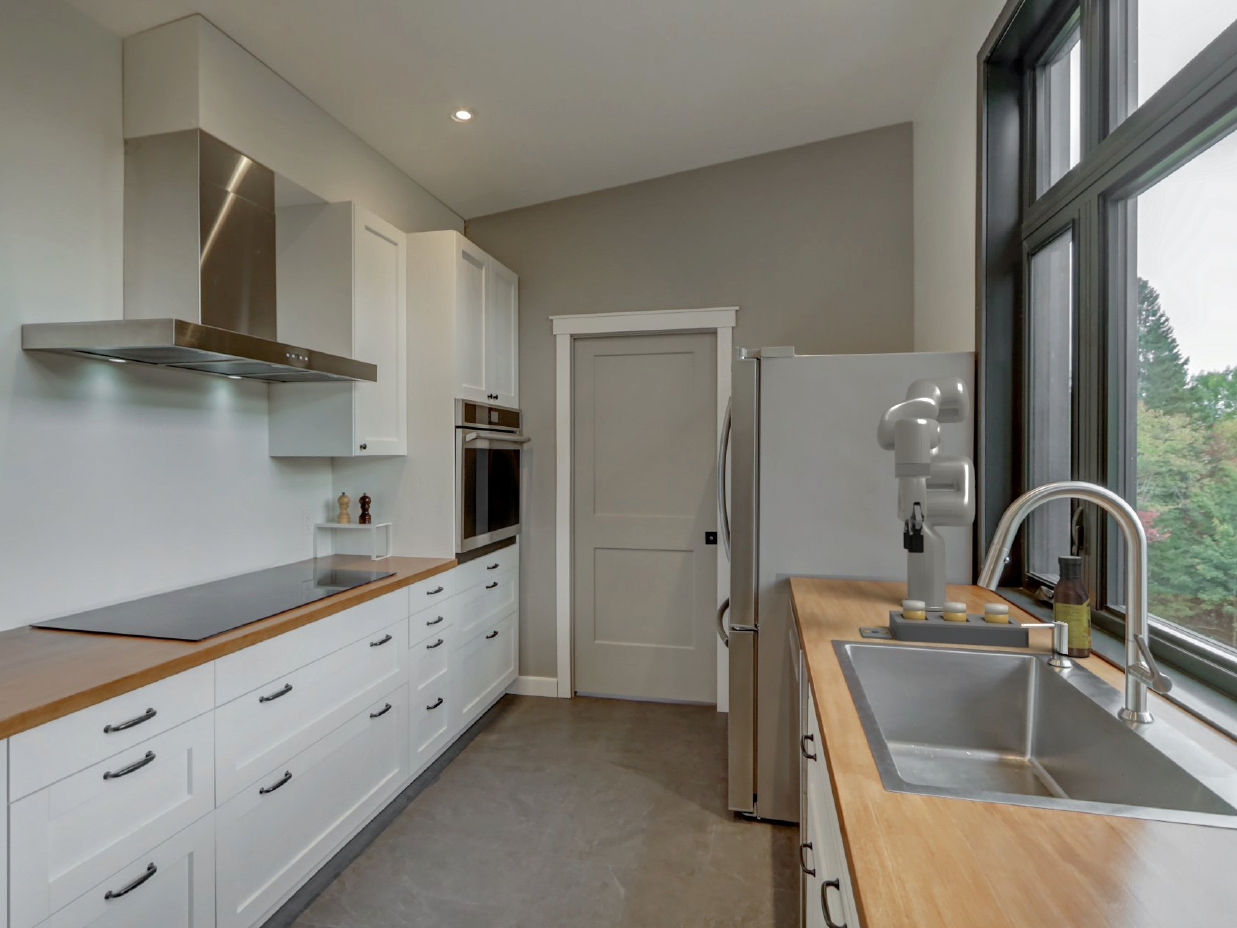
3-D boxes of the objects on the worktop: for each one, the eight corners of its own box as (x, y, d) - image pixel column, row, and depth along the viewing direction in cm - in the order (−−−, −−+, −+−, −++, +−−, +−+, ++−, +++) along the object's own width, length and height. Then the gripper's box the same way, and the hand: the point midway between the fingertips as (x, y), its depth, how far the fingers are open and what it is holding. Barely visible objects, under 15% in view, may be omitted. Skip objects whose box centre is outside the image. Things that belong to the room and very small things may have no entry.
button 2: (982, 626, 150) (982, 602, 150) (1004, 627, 148) (1004, 603, 148) (988, 631, 145) (987, 607, 145) (1011, 633, 144) (1011, 607, 144)
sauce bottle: (1097, 658, 131) (1096, 559, 131) (1062, 657, 133) (1061, 558, 133) (1081, 649, 138) (1080, 554, 138) (1048, 648, 139) (1047, 554, 139)
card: (859, 628, 157) (859, 626, 157) (886, 630, 155) (886, 627, 155) (863, 637, 149) (863, 635, 149) (891, 639, 148) (891, 636, 148)
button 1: (901, 623, 154) (901, 599, 154) (923, 624, 153) (922, 600, 153) (905, 627, 149) (904, 603, 149) (927, 628, 148) (926, 604, 148)
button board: (889, 627, 158) (889, 610, 158) (1010, 633, 151) (1010, 615, 151) (897, 640, 146) (897, 622, 146) (1028, 647, 140) (1028, 628, 140)
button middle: (941, 624, 152) (941, 601, 152) (963, 625, 151) (963, 601, 151) (946, 629, 147) (945, 605, 147) (968, 631, 146) (968, 606, 146)
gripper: (889, 471, 160) (890, 545, 160) (901, 472, 144) (901, 555, 144) (923, 471, 158) (923, 546, 158) (938, 472, 142) (939, 556, 142)
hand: (913, 550), depth 151 cm, fingers open, 5 cm apart
